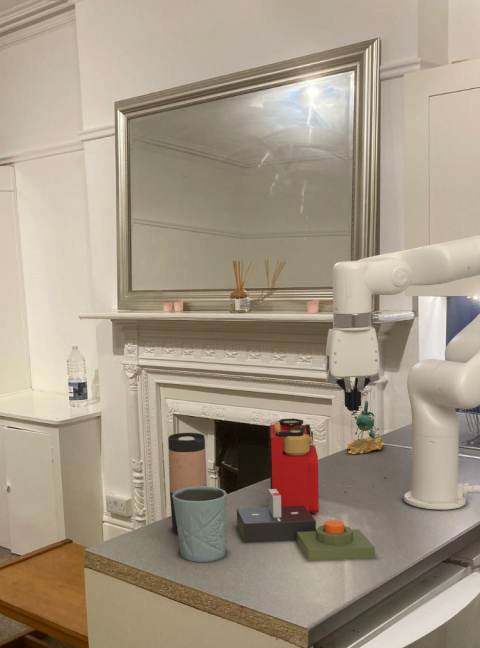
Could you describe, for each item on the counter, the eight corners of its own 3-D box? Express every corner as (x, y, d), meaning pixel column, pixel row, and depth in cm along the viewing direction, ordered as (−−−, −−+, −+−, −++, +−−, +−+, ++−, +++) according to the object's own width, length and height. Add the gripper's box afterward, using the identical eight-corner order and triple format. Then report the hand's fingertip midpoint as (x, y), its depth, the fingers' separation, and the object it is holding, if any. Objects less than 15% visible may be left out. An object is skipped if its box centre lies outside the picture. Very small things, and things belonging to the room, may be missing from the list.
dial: (268, 510, 167) (268, 487, 166) (276, 510, 166) (276, 487, 166) (273, 517, 162) (272, 494, 161) (281, 517, 162) (281, 494, 161)
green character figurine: (399, 444, 233) (397, 395, 230) (367, 463, 222) (364, 412, 218) (368, 439, 240) (365, 391, 237) (335, 458, 229) (332, 408, 225)
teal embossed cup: (237, 558, 152) (235, 496, 150) (187, 567, 149) (184, 503, 147) (214, 541, 161) (212, 483, 160) (167, 549, 159) (164, 489, 157)
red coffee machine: (319, 519, 172) (318, 426, 169) (270, 518, 174) (268, 427, 171) (314, 497, 187) (313, 412, 184) (269, 497, 189) (267, 413, 186)
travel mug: (170, 525, 173) (166, 433, 170) (206, 523, 173) (203, 431, 170) (172, 537, 165) (168, 441, 163) (210, 535, 165) (207, 439, 162)
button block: (358, 540, 158) (358, 520, 158) (374, 558, 148) (374, 537, 148) (296, 542, 159) (296, 522, 158) (308, 561, 149) (308, 540, 148)
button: (341, 528, 155) (341, 519, 154) (346, 534, 151) (346, 525, 151) (322, 529, 155) (322, 520, 154) (327, 535, 151) (327, 526, 151)
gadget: (304, 523, 169) (304, 504, 169) (316, 540, 159) (315, 519, 159) (237, 526, 170) (236, 507, 169) (244, 543, 160) (244, 522, 159)
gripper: (383, 318, 169) (383, 405, 172) (311, 322, 170) (312, 408, 172) (395, 321, 162) (395, 411, 165) (319, 325, 162) (321, 415, 165)
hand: (352, 409), depth 169 cm, fingers closed
